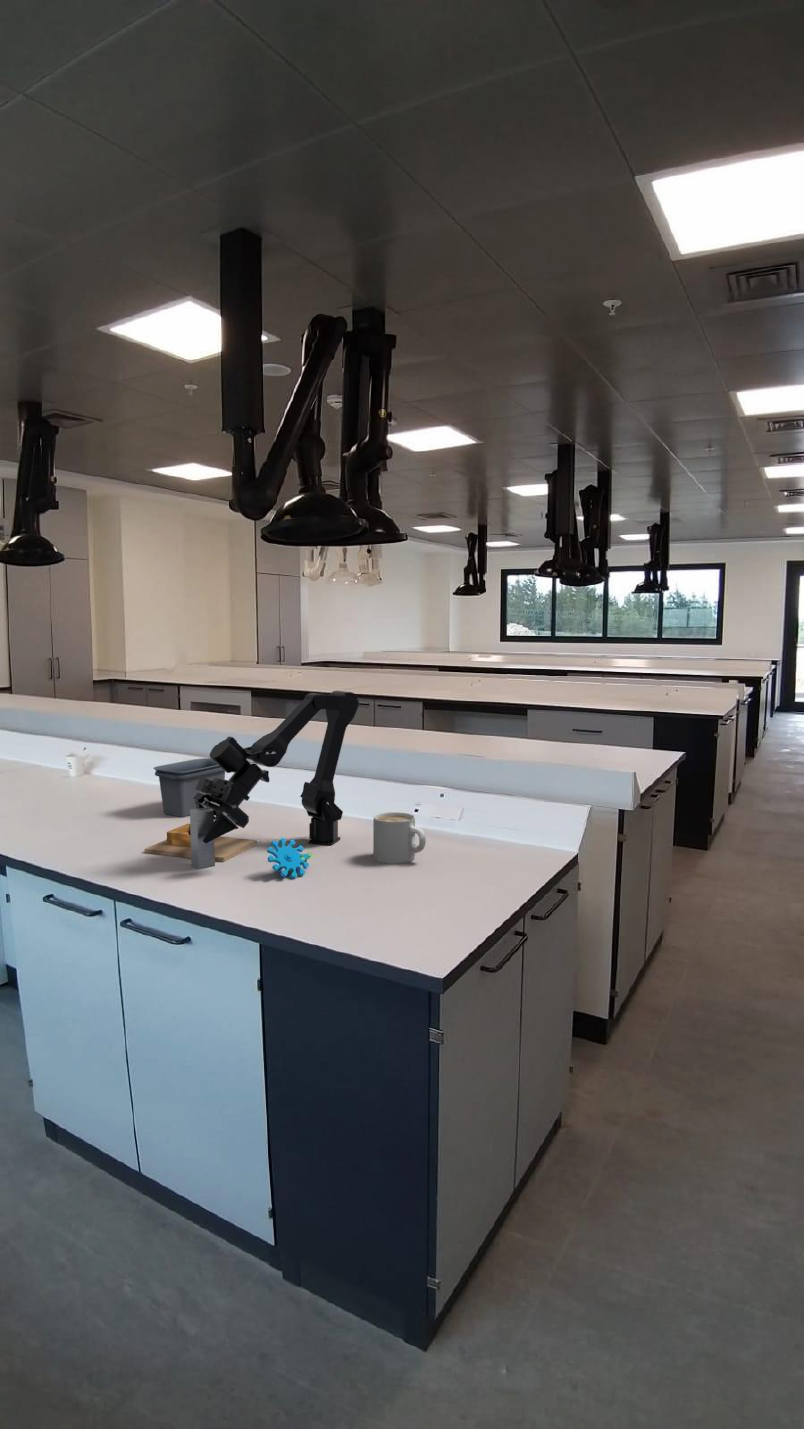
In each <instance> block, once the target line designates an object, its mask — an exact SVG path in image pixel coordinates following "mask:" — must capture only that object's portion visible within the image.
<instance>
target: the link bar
mask: <svg viewBox="0 0 804 1429" xmlns="http://www.w3.org/2000/svg"><path fill="white" fill-rule="evenodd" d="M214 821H215V820H214V811H213V810H211V809H209V808H200V809H193V810H190V815H189V824H190V833H191V858H190V865H191V866H193V867H194V868H195V869H197V870H203V869H206V868H213V867H215V866H216V861H215V845H214V840H212V841H210V842H208V843H204V842H203V839H204V837H205V835H206V834H207V832H208V830H209V829H210V827H211V826H212V824H213V823H214Z"/></svg>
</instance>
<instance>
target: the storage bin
mask: <svg viewBox="0 0 804 1429" xmlns="http://www.w3.org/2000/svg"><path fill="white" fill-rule="evenodd" d="M153 770H155V772H154V776H155V777H158V779H159V781H158V782H159V787H160V794H161V802H162V809H163V813H164V814H165V815H169V816H173V817H178V818H185V817H190V810H193V809H196V805H195V800H194V799H193V798H194V796H195V795H196V794H197V793H198V792H201V791H200V790H196V789H195V788H196V786H197V783H198V781H199V778H200V776H201V777H203V778H206V779H209V780H212V781H213V780H214V779H215V778H219V779H221V780H226V779H225V777H226V772H225V771H224V770H223V769H222V768H221V767H220V766H219V765H218V764H217V763H216V762H215V761H214V760H213V759H212V758H210V757H208V758H207V757H205V758H204V757H203V758H196V759H188V760H185V761H184V760H183V761H177V762H174V763H173V762H172V763H167V764H164V765H156V766H154V767H153ZM208 794H209V793H208ZM209 795H210V794H209Z"/></svg>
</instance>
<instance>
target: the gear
mask: <svg viewBox="0 0 804 1429" xmlns="http://www.w3.org/2000/svg"><path fill="white" fill-rule="evenodd" d="M286 842H287V839H286V838H284V837H281V838H280V839H279V841H278V840H273V841H272V842H271V844H270V845H271V846H269V847H268V849H267V850H266V853H268V854H270V855H268V857H267V862H268V863H274V864H272V866H271V868H272V870H273V872H280V876H282V877H283V878H286V877H287V876H288V873H289V871H292V872H291V874H290V875H289V877H290V879H297V877H298V876H299V877H302V876H304V875H305V874H306V870H307V869H308V868H309V866H310V863H309V862H307V861H308V860H309V859H311V857H312V856H313V855H312V852H308V851H307V853H304V854H303V853H302V852H303V851H304V847H303V846H302V845H299V846H297V847H295V848H294V846H295V844H296V843H297V842H296V840H293V839H291V840H289V842H288V845H287V846H286V845H285V843H286ZM278 844H280V846H279V845H278ZM296 870H298V873H297V871H296Z"/></svg>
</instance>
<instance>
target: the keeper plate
mask: <svg viewBox="0 0 804 1429" xmlns="http://www.w3.org/2000/svg"><path fill="white" fill-rule="evenodd" d="M189 830H190V823H186V824H183V825H181V826H178V827H176V828H174V829H171V830H168V831H167V832H166V839H164V840H163V841H159V842H157V843H156V844H155V843H154V844H153V845H150V846H148V847H146V848H144V853H145V854H153V855H159V856H160V855H161V856H169V857H179V858H187V859H191V836H190V835H189V834H188V832H189ZM214 845H215V862H219V863H221V862H222V863H224V862H227V861H229V860H230V859H232V858H234V857H236V856H238V855H239V854H242V853H243V852H245V851H247V850H249V849H251V848H253V847H254V846H257V845H258V840H257V839H248V838H238V837H229V836H220V837H218V838H216V839H214Z"/></svg>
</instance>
